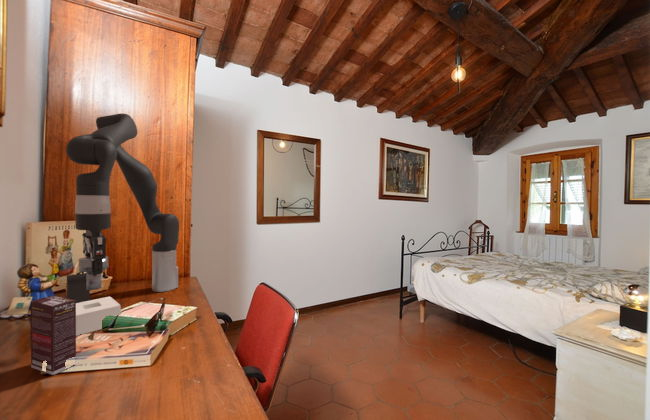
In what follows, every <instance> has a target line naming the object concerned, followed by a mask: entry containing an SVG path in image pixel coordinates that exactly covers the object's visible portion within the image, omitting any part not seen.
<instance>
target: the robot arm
mask: <svg viewBox="0 0 650 420" xmlns="http://www.w3.org/2000/svg"><path fill="white" fill-rule="evenodd" d="M95 126H96V127H97V129H96V130H94V131H92V133H88V134H87V133H86V134H82V135H78V136H74V137H73V138H71V139H69V140H68V141H67V144H66V147H65V152H66V155H67V157H68V159H70V161H72V162H74V163H75V164H79V165H90V166H98V168H97V169H95V171H93V172H85V173H80V174H78V175H77V176H76V179H75V181H76V182H75V185H76V187H75V188H76V192H75V193H76V196H75V202H74V204H75V206H74V209H75V211H74V215H75V221H74V222H75V223H74V224H75V225H74V226H75V229H76V230H79V231H85V232H83V233H82V235H81V236H82V253H83V256H84V257H90V256H91V260H92V274H93V275H97V274H101V275H102V274H103V271H104V270H103V259H104V258H105V257H106V256H107V255H106V253H107V252H106V248H107V247H106V246H107V245H106V244H107V243H106V242H107V237H106V236H105V235H103V232H102V230H108V229H110V228H111V226H112V225H111V223H112V221H111V219H112V218H111V217H112V215H111V212H112V211H111V200H110V199H111V198H110V179H111V175H112V172H113V168H114V166H115V163H116V162H117V164H118V167H119V168H120V170H121V173H122V174H123V176H124V179H125V181H126V183H127V185H128V186H129V188H130V191H131V192H132V194H133V196H134V198H135V200H136V201H137V203H138V206H139V208H140V210H141V213H142V215H143V217H144V220H145V223H146V227H147V228H148V229H149V231H150V232H151V233H153V234H155V235H160V239H159V241H158V242H155V243H153V244H152V246H151V247H152V248H151V249H152V250H151V255H152V258H151V260H152V261H151V263H152V265H151V267H152V270H151V274H152V275H151V278H152V279H151V280H152V281H151V282H152V283H151V284H152V285H151V288H152V292H155V293H156V292H157V293H159V292H160V293H161V292H168V291H173V290H175V289H176V288H179V266H177V246H178V243H179V237H180V236H179V235H180V233H179V232H180V221H179V218H178V217H177V215H176V214H174V213H162V212H161V210H160V209H159V207H158V203H157V193H158V184H157V182H156V180H155V178H154V175H153V172H152V170H151V169H150V168H149V166H147V165H145V164H144V163H143V162H141V161H140V160H138V159H137V158H135V157H134V156H132V155H131V154H130V153H128V151H126V150H125V148H124V147H123V146H122V145H123V144H124V143H125V142H127V141H129V140H132V139H135V138H136V137H137V135H138V127H137V125H136V123H135V121H134V119H133V118H132V116H131V115H129V114H127V113H116V114H108V115H104V116H103V115H102V116H98V117H97V118H96V119H95ZM97 253H98V254H97Z"/></svg>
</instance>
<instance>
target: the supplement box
mask: <svg viewBox="0 0 650 420" xmlns="http://www.w3.org/2000/svg"><path fill="white" fill-rule="evenodd" d="M75 356H76V357H77V336H76V300H73V299H68V298H67V297H62V296H58V295H50V296H46V297H42V298H38V299H34V300H31V301H30V367H31V368H32V369H35V370H38V371H40V372H42V371H41V370H42V363H43V361H45V360H46V361H47V362H46V363H47V366H46V372H45V373H46V374H48V375H51V376H55V375H57V374H59V373H61V372H64V371H66V370H65V368H66V366H65V362H66V360H67V359H69V358H72V357H75Z"/></svg>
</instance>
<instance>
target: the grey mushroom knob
mask: <svg viewBox="0 0 650 420" xmlns="http://www.w3.org/2000/svg"><path fill="white" fill-rule="evenodd" d="M107 269H109V256H108V255H106V257H105V258H104V259H103V271H104V270H107ZM78 271H79V272H82V273H86V279H87V290H90V291H94V290H96V291H97V290H100V289H102V274H97V275H93V274H92V260H91V256H90V257H85V256H84V257H81V258H78Z"/></svg>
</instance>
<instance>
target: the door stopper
mask: <svg viewBox="0 0 650 420" xmlns="http://www.w3.org/2000/svg"><path fill="white" fill-rule="evenodd" d="M90 292H91V290H87V279H86V272H82V273H77V274H70V275H66V298H68V299H73V300H76V303H80V302H85V301H90V300H91V293H90Z"/></svg>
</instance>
